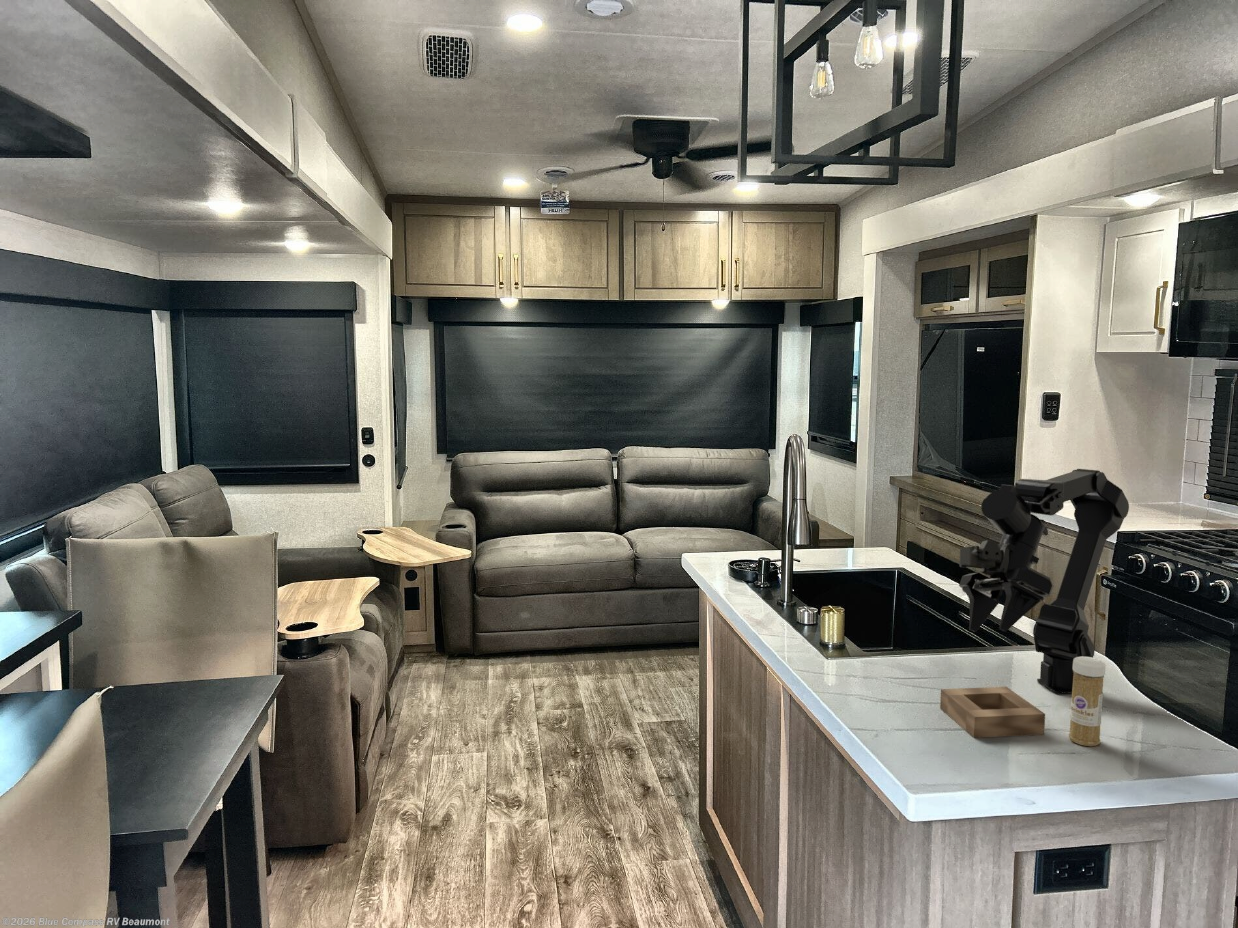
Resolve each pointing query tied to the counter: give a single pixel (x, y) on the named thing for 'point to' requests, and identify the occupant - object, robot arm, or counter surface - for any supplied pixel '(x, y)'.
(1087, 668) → the sprinkles bottle
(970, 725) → the socket block
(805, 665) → the counter surface
